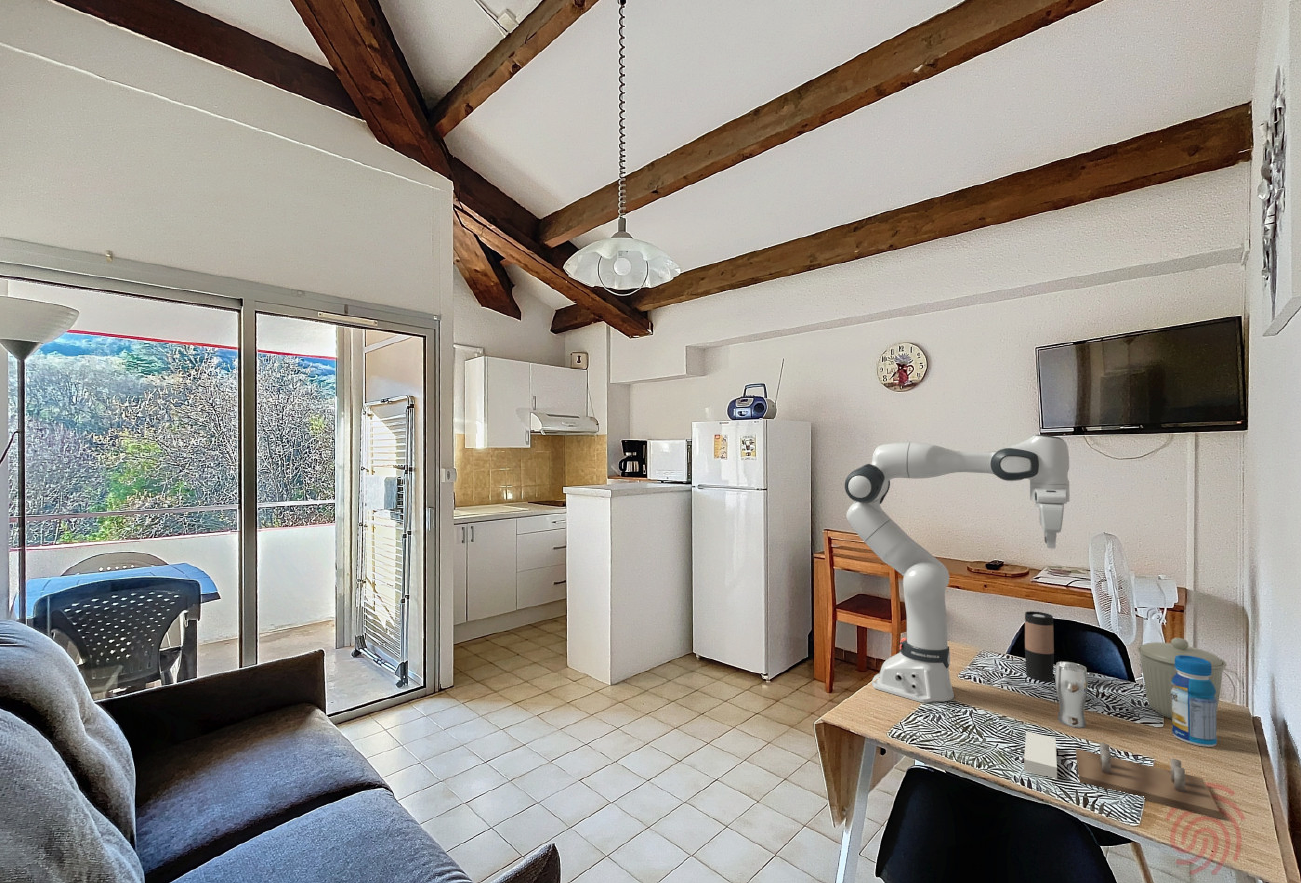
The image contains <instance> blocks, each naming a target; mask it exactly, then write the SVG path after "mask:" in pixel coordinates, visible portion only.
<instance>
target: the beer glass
mask: <svg viewBox="0 0 1301 883" xmlns="http://www.w3.org/2000/svg"><path fill="white" fill-rule="evenodd" d="M1054 676H1055V689H1056V692H1057V694H1056V695H1057V699H1058V704H1059V706H1058V708H1059V710H1058V716H1057V720H1058V722H1059V723H1061V724H1062V725H1063V726H1064V725H1065V726H1067V727H1070V728H1077V729H1082V728H1083V729H1084V728H1086V727H1087V722H1086V717H1085V707H1086V706H1085V705H1086V701H1087V695H1088V690H1089V689H1088V688H1089V687H1088V686H1089V683H1088V680H1089V679H1088V673H1087V667H1086V666H1084V665H1082V664H1079V663H1075V662H1072V661H1071V662H1070V661H1058V662H1056V664H1055V675H1054Z"/></svg>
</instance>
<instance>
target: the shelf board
mask: <svg viewBox="0 0 1301 883" xmlns="http://www.w3.org/2000/svg"><path fill="white" fill-rule="evenodd" d="M1056 739H1057V738H1056V737H1052V736H1048V735H1044V734H1039V733H1036V732H1035V733H1034V732H1031V731H1025V743H1024V744H1025V745H1024V756H1023V757H1024V758H1023V762H1024V763H1023V764H1024V768H1023V769H1024V770H1023V771H1024V772H1027V773H1031V774H1034V775H1038V776H1043V777H1046V776H1048V777H1047V778H1049V777H1052V778H1051V779H1053V778H1055V779H1054V780H1058V766H1057V741H1056Z"/></svg>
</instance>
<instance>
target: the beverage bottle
mask: <svg viewBox="0 0 1301 883" xmlns="http://www.w3.org/2000/svg"><path fill="white" fill-rule="evenodd" d="M1175 668H1176V670H1177V671H1178V672H1177V673H1176V674H1175V675H1174V677H1173V678H1172V681H1171V684H1172V685H1173V688H1172V690H1171V697H1172V719H1171V722H1172V727H1171V733H1172V735H1173V736H1174V737H1175V738H1176V739H1178V740H1181V741H1182V742H1184V743H1187V744H1190V745H1194V746H1196V747H1197V746H1199V747H1206V748H1212V747H1215V746H1217V744H1218V740H1217V713H1216V706H1217V700H1216V698H1215V696H1214V695H1215V693H1216V689H1215V687H1214V685H1213V683H1212V682H1211V680H1210V679H1209V678H1208V677H1210V676H1211V674H1212V665H1211V663H1210V662H1209V661H1207V660H1205V659H1202V658H1198V657H1193V656H1186V655H1178V656H1175Z"/></svg>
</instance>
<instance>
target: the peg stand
mask: <svg viewBox="0 0 1301 883" xmlns="http://www.w3.org/2000/svg"><path fill="white" fill-rule="evenodd" d="M1099 751H1100V752H1099V753H1096V752H1091V751H1087V750H1083V749H1080V748H1079V749H1078V748H1076V749H1075V757H1076V758H1077V759H1076V765H1078V766H1077V772H1078V781H1080V782H1079V784H1082V783H1086V784H1091V785H1094V786H1098V787H1102V788H1104V789H1103V790H1105V789H1112V790H1116V791H1121V792H1125V793H1129V794H1133V795H1138V796H1144V798H1145V799H1146V800H1145V801H1148V802H1151V803H1156V804H1160V805H1164V806H1168V807H1171V808H1174V809H1175V808H1176V809H1179V810H1181V811H1182V810H1183V811H1187V812H1191V813H1194V814H1198V815H1202V816H1205V817H1206V816H1207V817H1210V818H1214V819H1217V820H1220V819H1221V818H1220V817H1221V816H1220V815H1221V814H1220V810H1219V807H1218V806H1217V804H1216V802H1215V800H1214V798H1213V796H1212V793H1211V792H1210V790H1209V788H1208V786H1207V784H1206V783H1205V780H1204V778H1203V777H1200V776H1199V777H1198V776H1194V775H1189V774H1186V771H1185V768H1183V767H1182V761H1180V760H1179V759H1177V758H1170V770H1169V769H1165V768H1161V767H1157V766H1151V765H1146V764H1143V763H1139V762H1133V761H1130V760H1126V759H1122V758H1118V757H1113V756H1112V752H1111V751H1110V745H1109V744H1107V743H1105V742H1101V743H1099Z"/></svg>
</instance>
